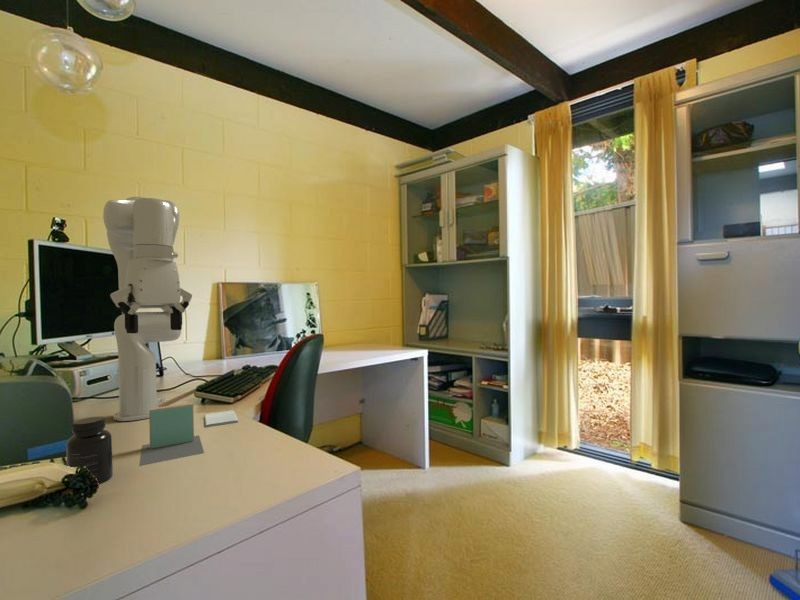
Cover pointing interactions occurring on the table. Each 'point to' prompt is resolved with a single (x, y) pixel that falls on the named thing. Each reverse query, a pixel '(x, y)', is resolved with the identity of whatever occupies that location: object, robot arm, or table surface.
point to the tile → (171, 425)
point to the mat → (170, 451)
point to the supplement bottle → (91, 448)
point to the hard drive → (220, 418)
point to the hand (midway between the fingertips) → (155, 331)
